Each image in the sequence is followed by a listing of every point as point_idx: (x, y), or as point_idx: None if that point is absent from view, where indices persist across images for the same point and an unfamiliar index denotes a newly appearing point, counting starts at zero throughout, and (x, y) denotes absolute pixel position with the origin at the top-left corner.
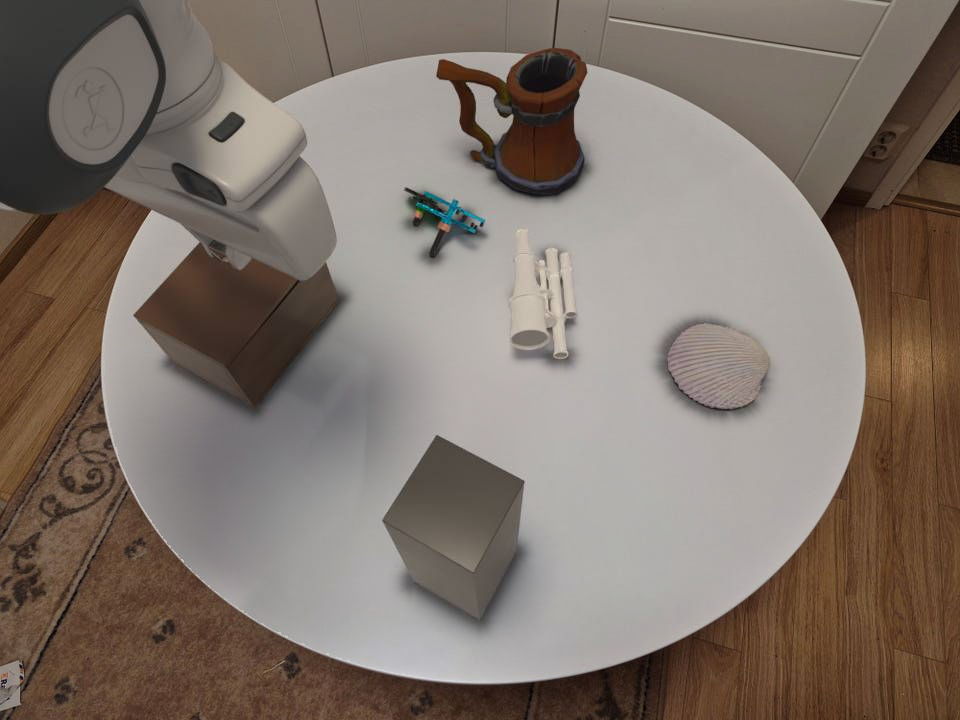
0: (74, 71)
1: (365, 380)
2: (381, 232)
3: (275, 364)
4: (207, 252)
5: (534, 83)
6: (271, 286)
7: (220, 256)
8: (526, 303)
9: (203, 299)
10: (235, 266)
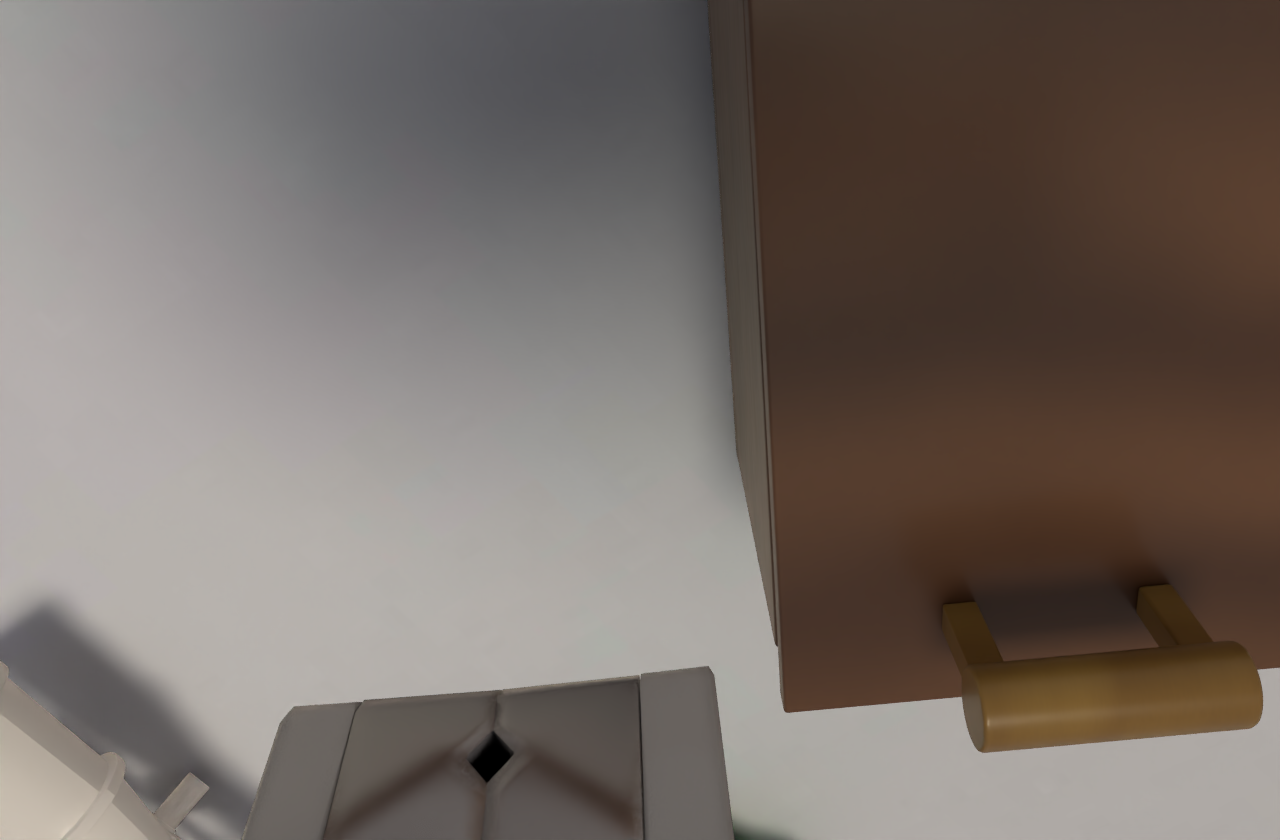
0: None
1: (403, 247)
2: (795, 724)
3: (720, 87)
4: (703, 716)
5: None
6: (845, 415)
7: (482, 778)
8: (14, 834)
9: (1134, 158)
10: (286, 749)
